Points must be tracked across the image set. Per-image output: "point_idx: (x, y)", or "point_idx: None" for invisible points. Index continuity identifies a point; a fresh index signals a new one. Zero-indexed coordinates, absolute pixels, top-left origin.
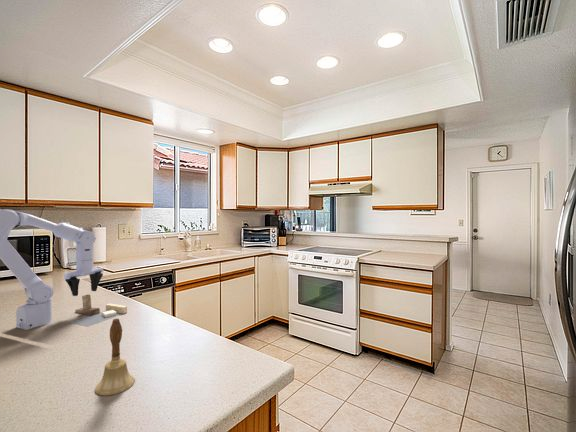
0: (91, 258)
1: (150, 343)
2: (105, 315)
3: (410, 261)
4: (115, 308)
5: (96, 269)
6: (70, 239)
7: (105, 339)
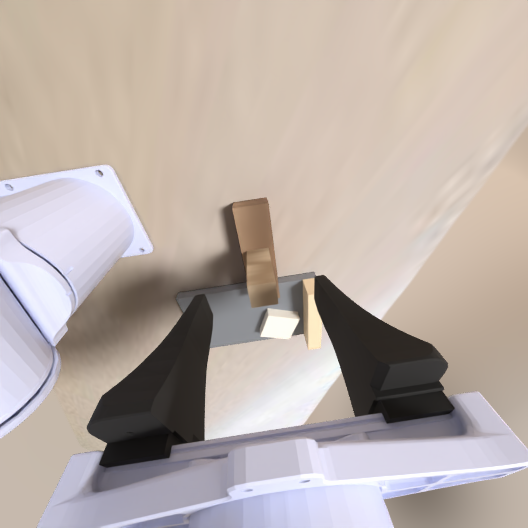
0: None
1: (239, 419)
2: (260, 334)
3: None
4: (306, 322)
5: (388, 497)
6: None
7: (205, 389)
